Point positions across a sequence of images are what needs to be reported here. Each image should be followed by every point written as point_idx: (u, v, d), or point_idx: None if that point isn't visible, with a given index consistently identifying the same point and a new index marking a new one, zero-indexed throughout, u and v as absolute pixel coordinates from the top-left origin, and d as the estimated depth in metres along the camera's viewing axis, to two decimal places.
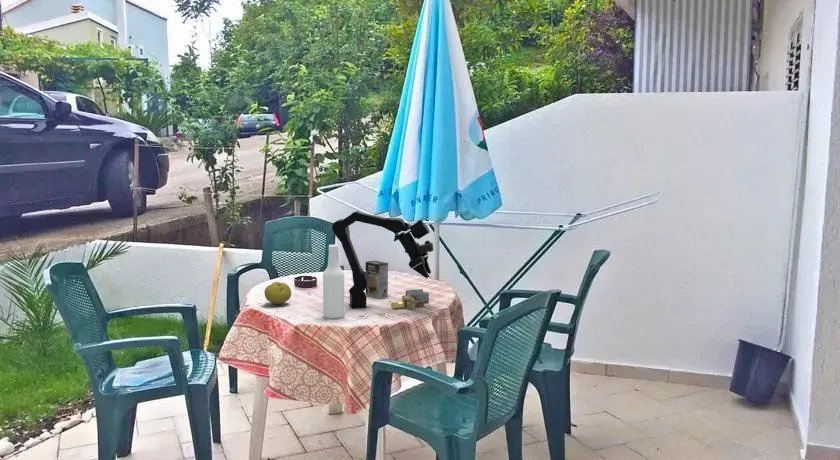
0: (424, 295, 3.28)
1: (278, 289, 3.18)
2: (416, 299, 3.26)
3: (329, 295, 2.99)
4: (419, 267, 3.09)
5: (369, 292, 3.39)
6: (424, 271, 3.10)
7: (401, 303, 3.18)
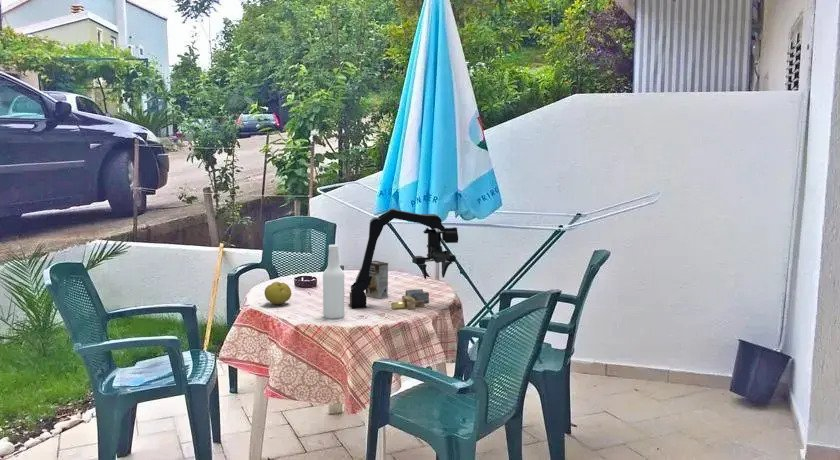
0: (424, 295, 3.28)
1: (278, 289, 3.18)
2: (416, 299, 3.26)
3: (329, 295, 2.99)
4: None
5: (369, 292, 3.39)
6: (423, 272, 3.20)
7: (401, 303, 3.18)
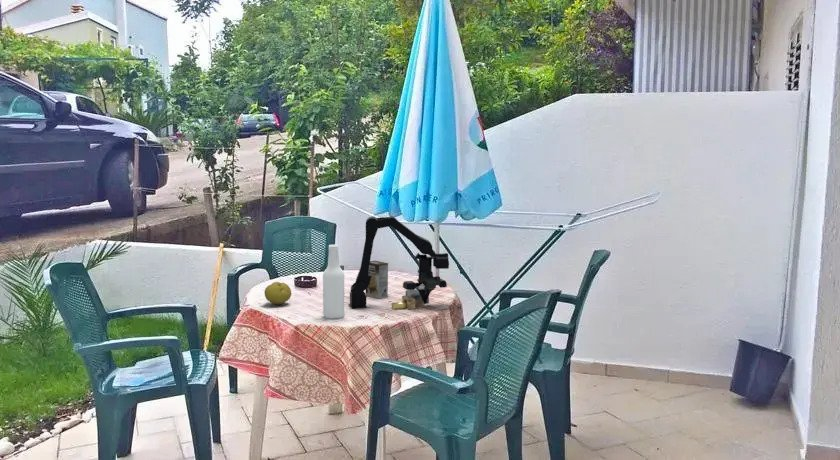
0: None
1: (278, 289, 3.18)
2: (416, 299, 3.26)
3: (329, 295, 2.99)
4: None
5: (369, 292, 3.39)
6: (422, 297, 3.22)
7: (402, 304, 3.17)
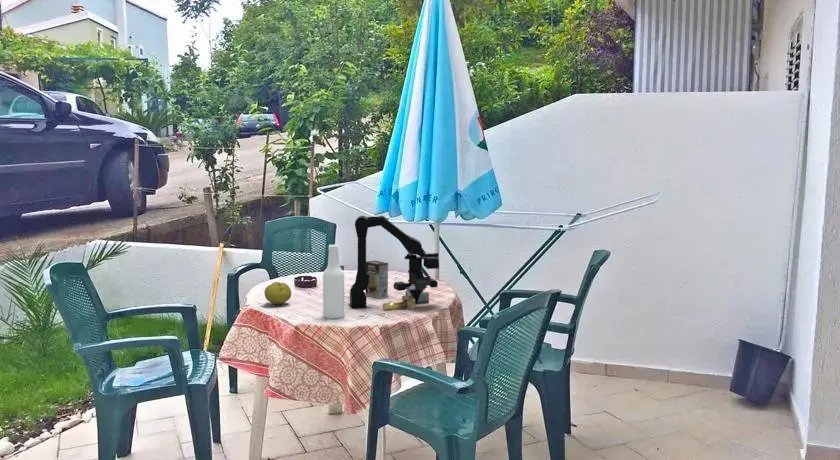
0: (424, 295, 3.28)
1: (278, 289, 3.18)
2: None
3: (329, 295, 2.99)
4: None
5: (369, 292, 3.39)
6: (414, 297, 3.20)
7: (393, 305, 3.16)
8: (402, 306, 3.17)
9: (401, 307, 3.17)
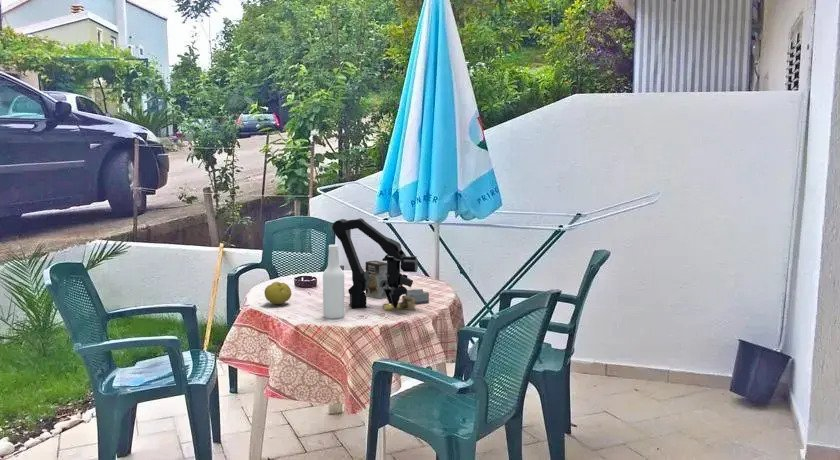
0: (424, 295, 3.28)
1: (278, 289, 3.18)
2: (416, 299, 3.26)
3: (329, 295, 2.99)
4: (395, 295, 3.13)
5: (369, 292, 3.39)
6: (397, 301, 3.14)
7: (393, 306, 3.15)
8: (402, 307, 3.17)
9: (401, 308, 3.17)
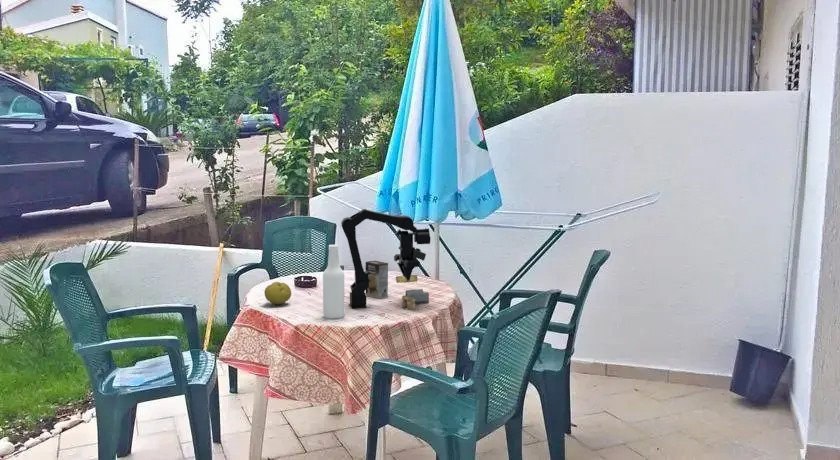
0: (424, 295, 3.28)
1: (278, 289, 3.18)
2: (416, 299, 3.26)
3: (329, 295, 2.99)
4: (408, 268, 3.19)
5: (369, 292, 3.39)
6: (410, 273, 3.20)
7: None
8: (415, 278, 3.23)
9: (415, 279, 3.23)
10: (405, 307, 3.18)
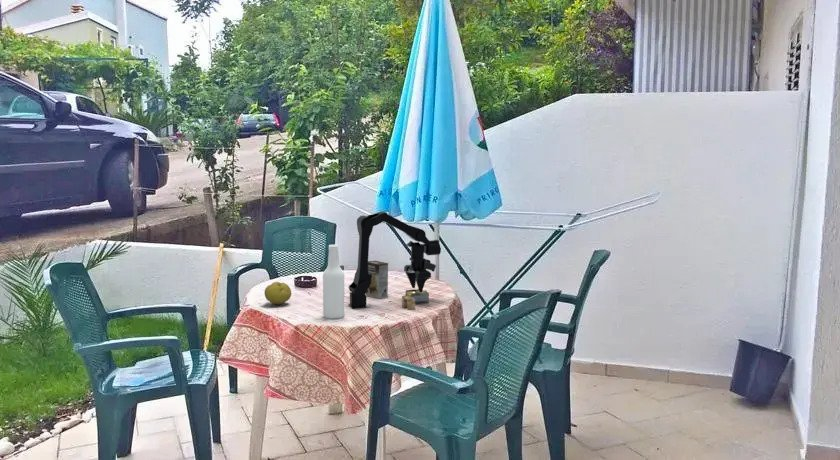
0: (424, 295, 3.28)
1: (278, 289, 3.18)
2: (416, 299, 3.26)
3: (329, 295, 2.99)
4: (421, 280, 3.25)
5: (369, 292, 3.39)
6: (423, 285, 3.25)
7: (416, 292, 3.30)
8: None
9: None
10: (405, 307, 3.18)
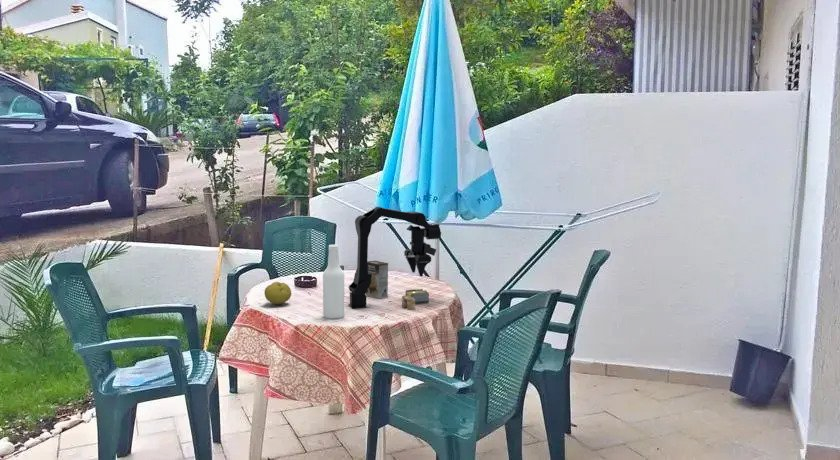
0: (424, 295, 3.28)
1: (278, 289, 3.18)
2: (416, 299, 3.26)
3: (329, 295, 2.99)
4: (421, 264, 3.23)
5: (369, 292, 3.39)
6: (423, 269, 3.24)
7: (416, 292, 3.30)
8: None
9: None
10: (405, 307, 3.18)
